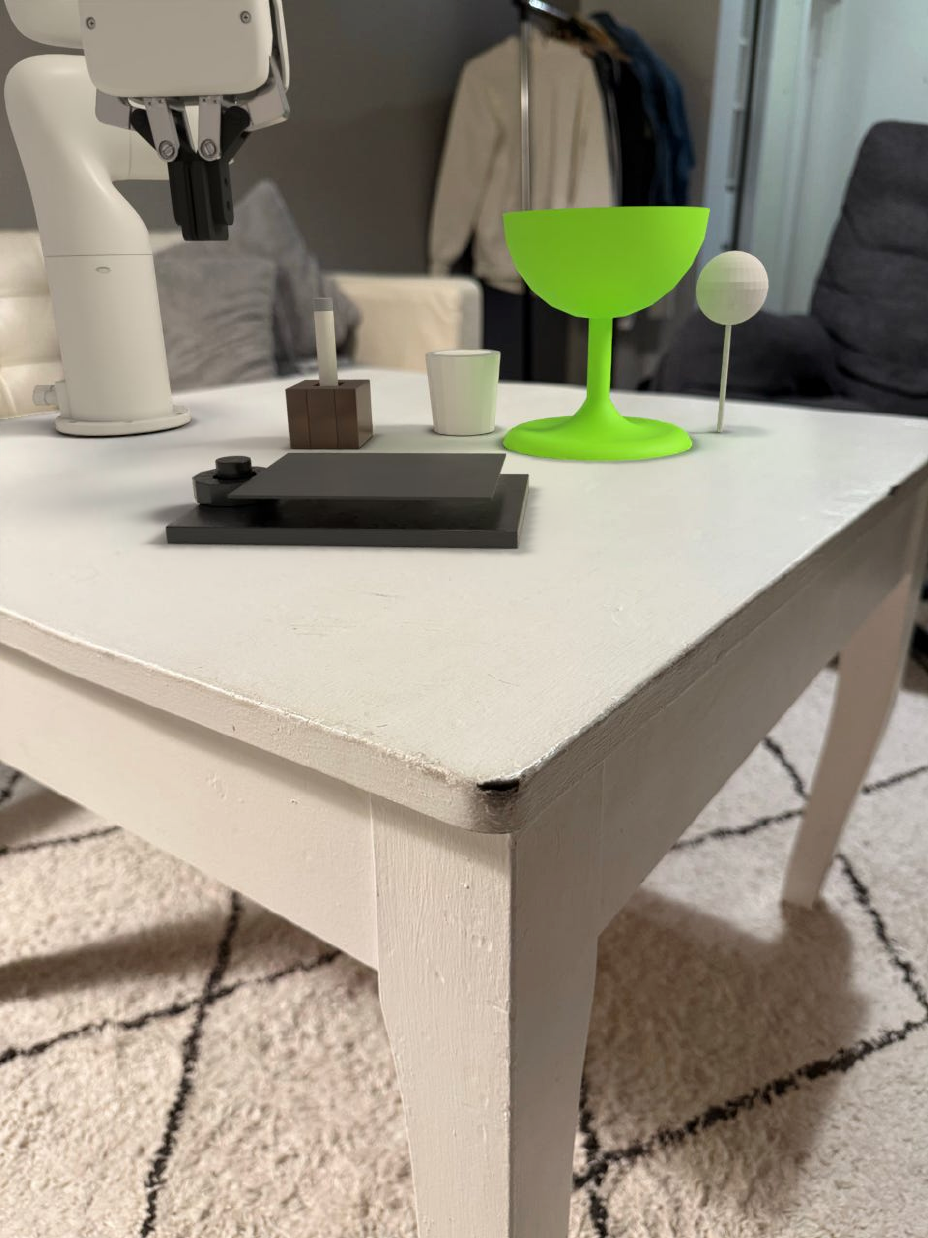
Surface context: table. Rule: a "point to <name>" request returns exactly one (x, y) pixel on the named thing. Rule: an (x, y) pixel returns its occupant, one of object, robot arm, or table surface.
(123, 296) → the robot arm
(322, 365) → the stylus
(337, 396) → the pen stand
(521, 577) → the table surface
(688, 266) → the wineglass
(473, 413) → the shot glass
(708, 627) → the table surface
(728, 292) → the lollipop
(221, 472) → the button
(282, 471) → the screen
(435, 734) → the table surface
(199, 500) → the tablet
